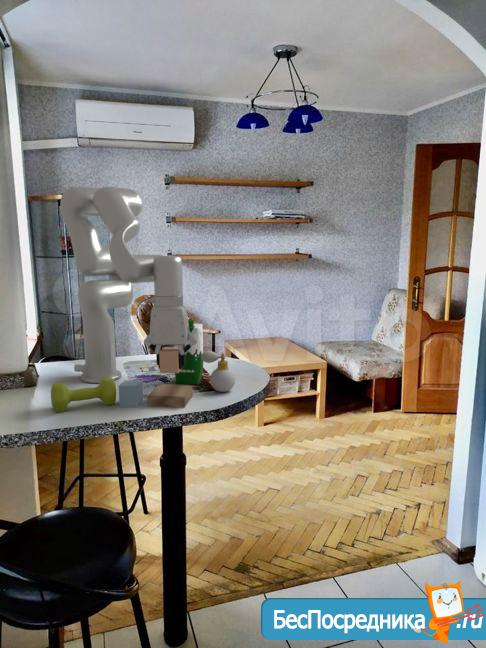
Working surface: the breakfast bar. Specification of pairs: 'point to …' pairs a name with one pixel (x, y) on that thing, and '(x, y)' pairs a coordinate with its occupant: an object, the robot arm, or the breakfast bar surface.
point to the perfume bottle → (219, 372)
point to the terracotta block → (169, 360)
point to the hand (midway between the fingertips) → (171, 367)
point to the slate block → (130, 393)
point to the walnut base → (170, 395)
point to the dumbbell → (82, 394)
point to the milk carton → (192, 358)
